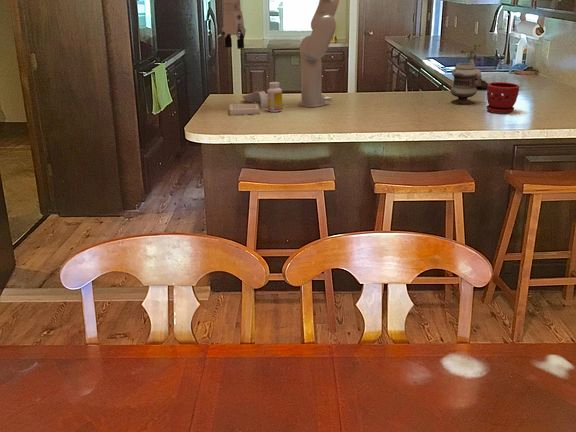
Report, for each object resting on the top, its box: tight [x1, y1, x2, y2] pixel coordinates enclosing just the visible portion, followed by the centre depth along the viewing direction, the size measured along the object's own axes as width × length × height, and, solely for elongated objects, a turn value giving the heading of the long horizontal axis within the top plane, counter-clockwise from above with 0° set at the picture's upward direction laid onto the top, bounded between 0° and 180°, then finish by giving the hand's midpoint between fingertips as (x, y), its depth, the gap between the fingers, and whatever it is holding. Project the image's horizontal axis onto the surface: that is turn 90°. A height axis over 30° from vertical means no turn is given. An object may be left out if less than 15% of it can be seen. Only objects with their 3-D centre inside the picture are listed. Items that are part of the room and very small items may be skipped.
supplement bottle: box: [266, 81, 283, 113], centre depth 278 cm, size 7×7×13 cm
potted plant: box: [454, 43, 490, 89], centre depth 330 cm, size 20×19×25 cm
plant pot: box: [485, 81, 520, 114], centre depth 268 cm, size 13×13×12 cm
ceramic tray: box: [229, 103, 260, 116], centre depth 279 cm, size 13×13×2 cm
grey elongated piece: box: [241, 90, 268, 109], centre depth 297 cm, size 24×12×7 cm, turn 21°
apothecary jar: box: [449, 62, 478, 106], centre depth 288 cm, size 12×12×18 cm
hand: (234, 47), depth 277 cm, fingers open, 9 cm apart
